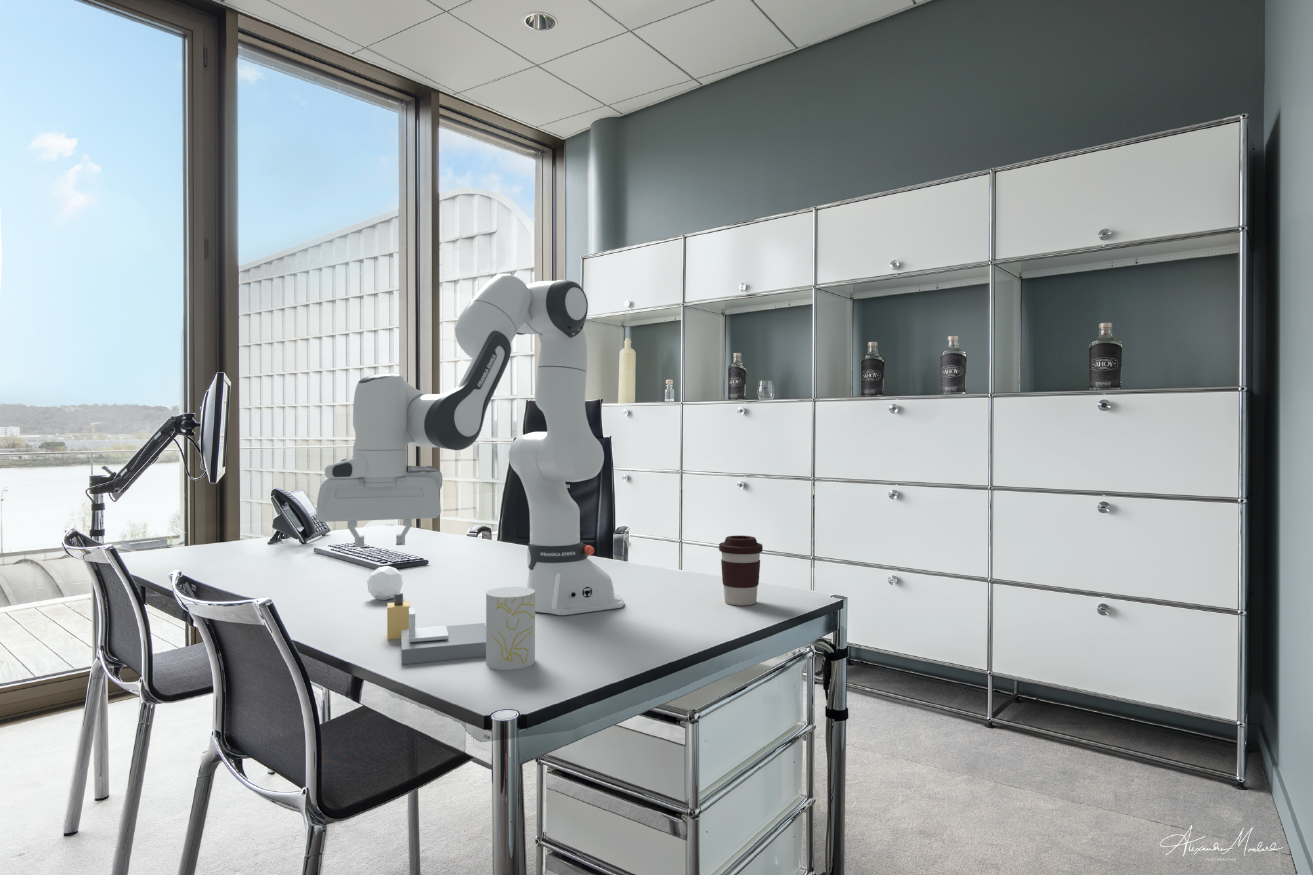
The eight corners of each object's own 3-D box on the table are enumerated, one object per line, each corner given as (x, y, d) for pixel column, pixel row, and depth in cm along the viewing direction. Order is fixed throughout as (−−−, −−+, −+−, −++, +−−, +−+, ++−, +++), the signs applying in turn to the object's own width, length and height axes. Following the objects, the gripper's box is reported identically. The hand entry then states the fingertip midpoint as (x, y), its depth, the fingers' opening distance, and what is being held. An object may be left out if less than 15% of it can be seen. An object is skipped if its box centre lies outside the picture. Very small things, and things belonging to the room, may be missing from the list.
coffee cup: (732, 595, 176) (732, 533, 176) (769, 601, 171) (770, 536, 170) (710, 603, 168) (710, 537, 168) (749, 610, 162) (749, 541, 162)
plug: (409, 632, 144) (409, 591, 144) (409, 637, 140) (409, 595, 140) (387, 633, 143) (387, 592, 142) (387, 639, 139) (387, 597, 139)
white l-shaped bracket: (408, 631, 134) (408, 606, 134) (446, 628, 136) (446, 603, 136) (409, 642, 127) (409, 615, 127) (448, 638, 129) (448, 612, 129)
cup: (493, 672, 120) (493, 599, 120) (480, 658, 127) (480, 589, 127) (541, 665, 124) (541, 594, 124) (526, 652, 131) (526, 585, 131)
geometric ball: (392, 608, 173) (413, 579, 176) (382, 604, 166) (404, 573, 168) (366, 591, 174) (387, 563, 177) (355, 586, 167) (377, 556, 170)
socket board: (401, 643, 136) (401, 629, 136) (484, 635, 141) (484, 622, 141) (401, 664, 124) (401, 649, 124) (492, 655, 129) (492, 641, 129)
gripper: (441, 464, 135) (441, 540, 135) (319, 466, 128) (319, 545, 129) (443, 466, 129) (443, 545, 129) (315, 468, 122) (315, 551, 123)
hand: (380, 545), depth 129 cm, fingers open, 5 cm apart
